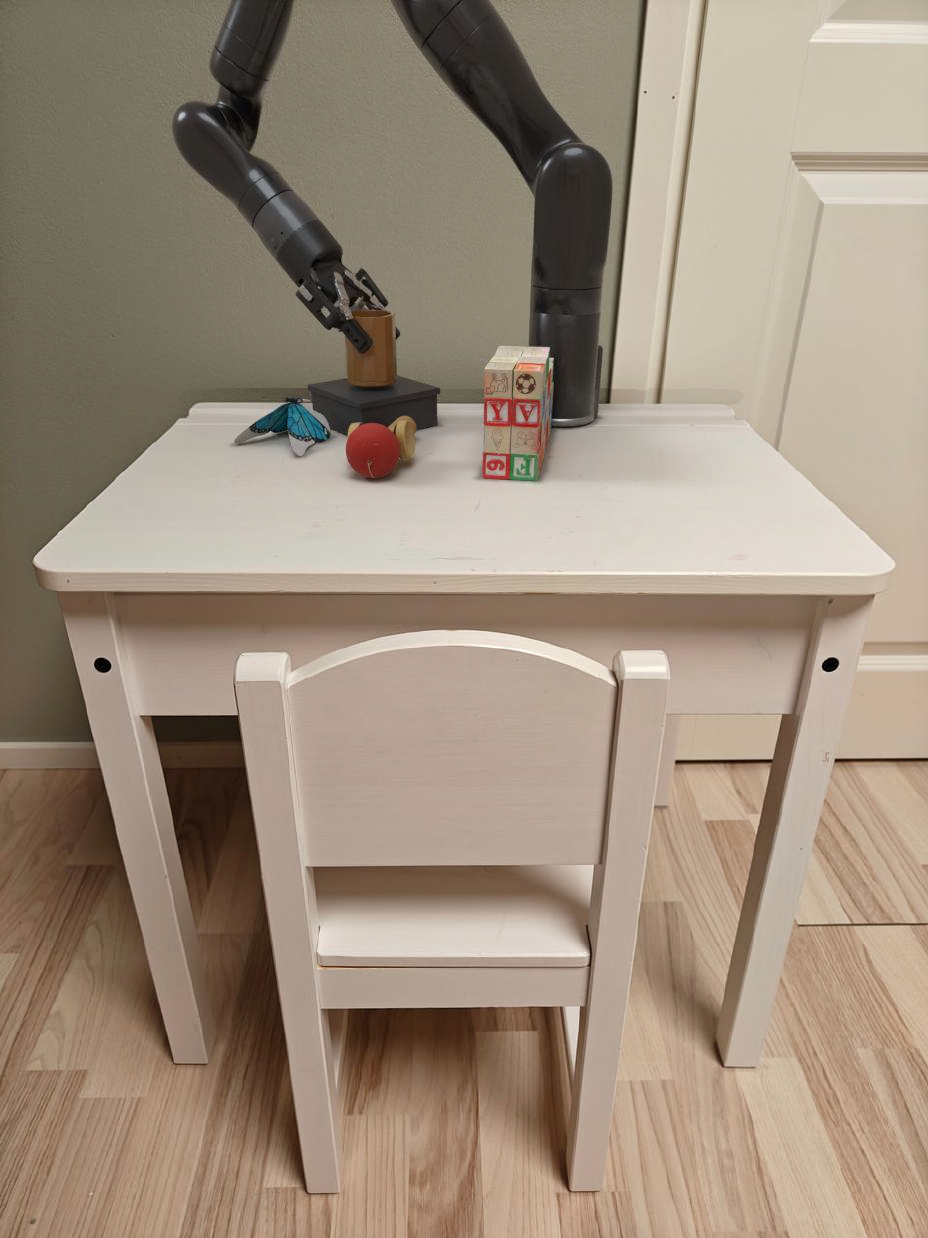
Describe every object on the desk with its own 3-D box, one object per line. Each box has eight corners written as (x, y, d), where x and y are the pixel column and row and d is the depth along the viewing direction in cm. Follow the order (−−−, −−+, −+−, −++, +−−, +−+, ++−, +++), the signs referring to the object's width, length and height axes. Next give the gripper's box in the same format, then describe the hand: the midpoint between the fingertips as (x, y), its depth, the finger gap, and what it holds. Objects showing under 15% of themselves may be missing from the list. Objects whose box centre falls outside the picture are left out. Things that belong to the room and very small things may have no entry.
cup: (378, 373, 117) (375, 307, 113) (406, 382, 113) (404, 314, 109) (338, 379, 114) (334, 312, 110) (365, 389, 109) (362, 319, 105)
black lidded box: (386, 406, 124) (385, 371, 122) (440, 425, 115) (440, 387, 113) (310, 421, 117) (307, 384, 114) (362, 442, 108) (360, 403, 106)
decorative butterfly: (349, 403, 109) (300, 400, 101) (345, 455, 111) (296, 456, 102) (287, 394, 114) (234, 390, 105) (283, 443, 115) (231, 443, 107)
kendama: (369, 447, 111) (326, 472, 94) (378, 398, 108) (334, 415, 92) (427, 461, 110) (394, 489, 93) (437, 412, 108) (404, 432, 91)
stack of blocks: (505, 426, 115) (507, 330, 109) (552, 428, 114) (557, 332, 108) (482, 478, 96) (483, 366, 91) (537, 481, 96) (543, 368, 90)
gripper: (279, 220, 101) (370, 333, 102) (344, 214, 113) (426, 316, 114) (247, 266, 106) (335, 374, 107) (313, 256, 117) (392, 353, 118)
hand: (381, 343), depth 110 cm, fingers closed on cup, 6 cm apart
